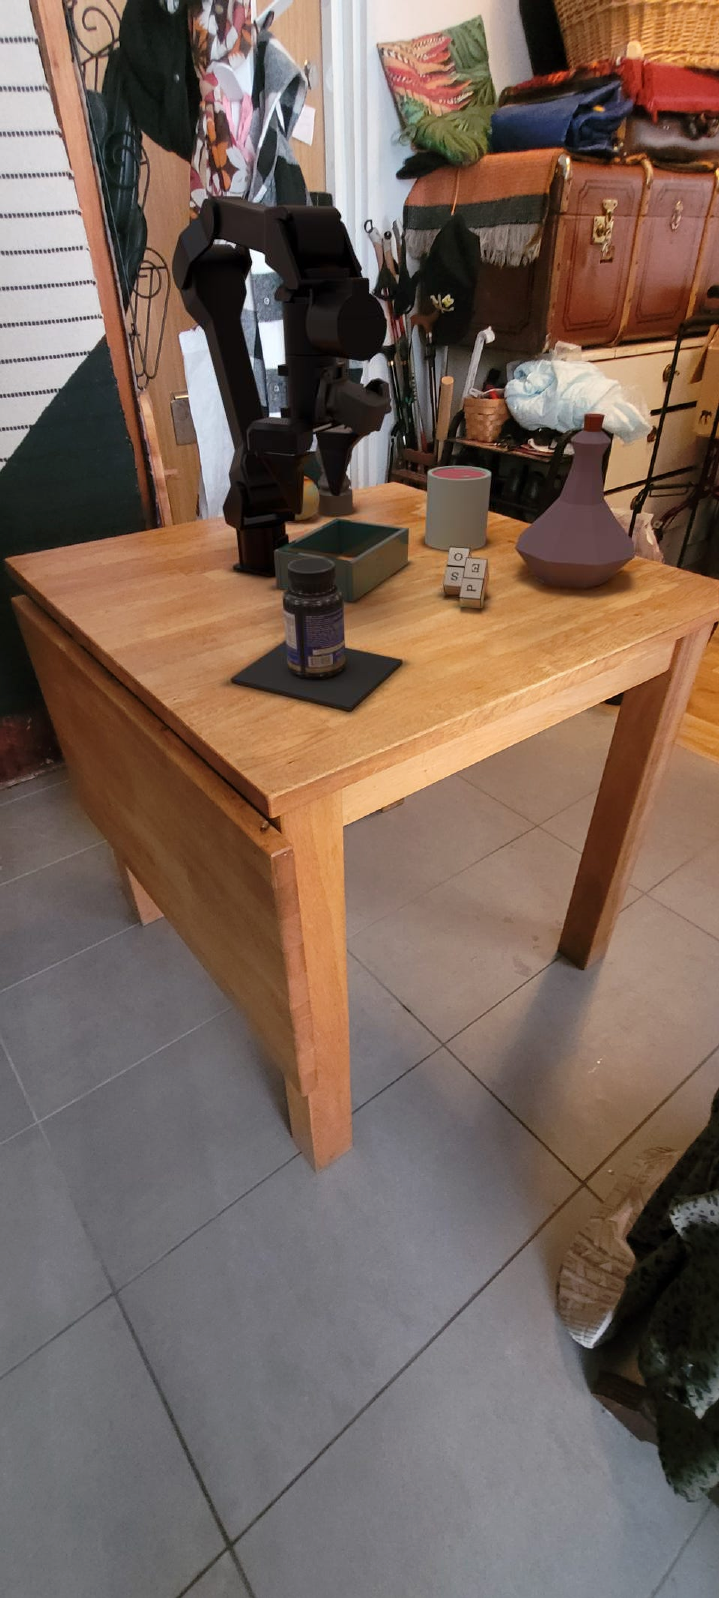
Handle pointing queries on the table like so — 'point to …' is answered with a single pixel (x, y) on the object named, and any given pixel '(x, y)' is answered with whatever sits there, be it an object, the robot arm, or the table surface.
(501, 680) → the table surface
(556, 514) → the flask
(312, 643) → the pill bottle
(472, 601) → the building blocks
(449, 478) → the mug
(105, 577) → the table surface
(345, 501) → the candle holder
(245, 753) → the table surface
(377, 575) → the teal open box
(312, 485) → the ball
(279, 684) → the mat
